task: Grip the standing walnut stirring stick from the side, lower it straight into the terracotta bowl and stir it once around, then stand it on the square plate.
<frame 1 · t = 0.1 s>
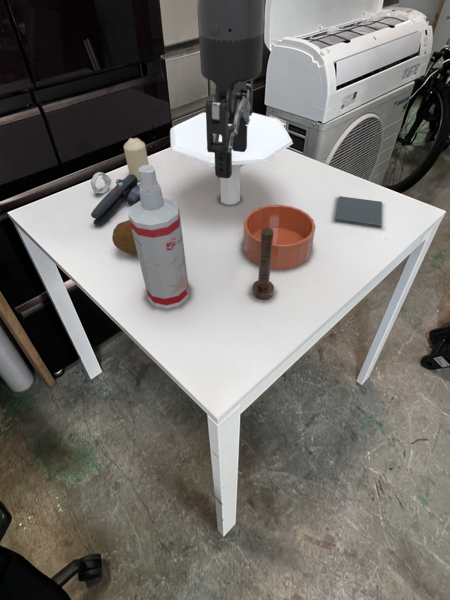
hand: (231, 162, 55), 24 cm above the table, tool pointing down, fingers open, 8 cm apart
wristwatch: (102, 192, 97), on the table
candle: (140, 177, 102), on the table
table 2: (230, 200, 93), on the table
stirrer: (262, 292, 70), on the table
square plate: (358, 212, 88), on the table
spray bottle: (169, 294, 70), on the table
bowl: (277, 247, 79), on the table
can opener: (119, 209, 91), on the table
potato: (145, 250, 80), on the table
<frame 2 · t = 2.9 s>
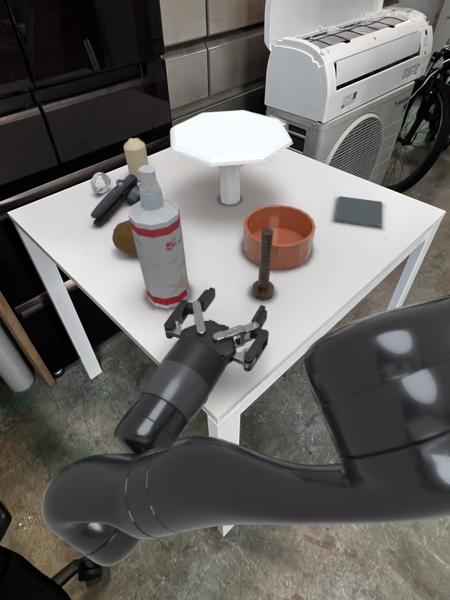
hand: (237, 300, 57), 8 cm above the table, tool horizontal, fingers open, 8 cm apart
nothing on the table moved.
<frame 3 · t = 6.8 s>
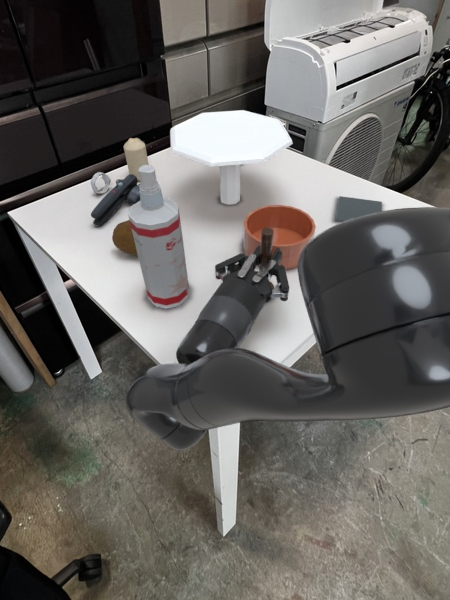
hand: (271, 250, 66), 8 cm above the table, tool horizontal, fingers closed on stirrer, 2 cm apart
stirrer: (262, 292, 70), on the table, touching gripper
everything else where it was.
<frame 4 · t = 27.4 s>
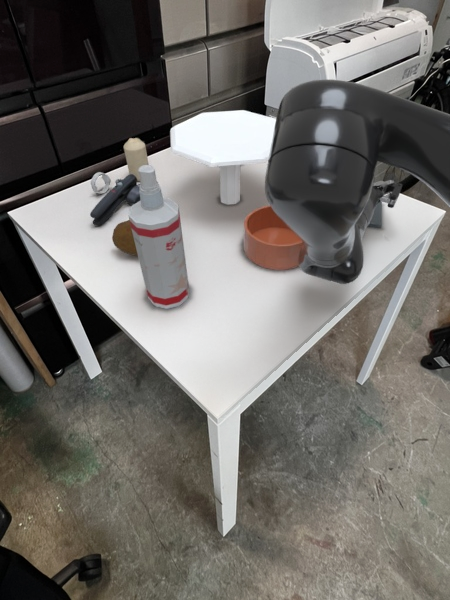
hand: (370, 172, 82), 9 cm above the table, tool horizontal, fingers open, 8 cm apart
stirrer: (358, 209, 87), point 1 cm above the table, touching square plate
everything else where it was.
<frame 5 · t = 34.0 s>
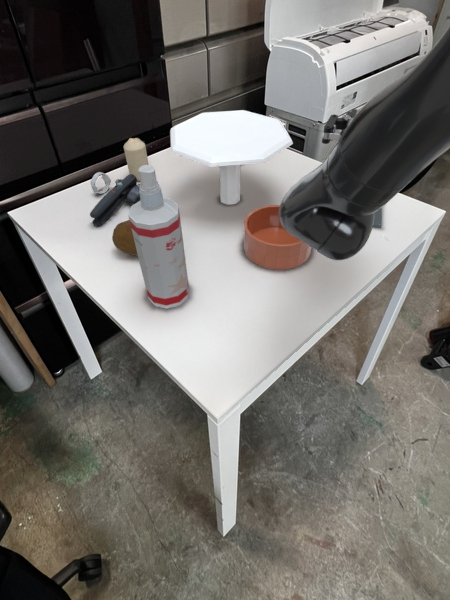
hand: (379, 118, 63), 25 cm above the table, tool horizontal, fingers open, 8 cm apart
nothing on the table moved.
at the end: stirrer 0.1 cm off-centre on the square plate, point 0.8 cm above the square plate's base; stirrer tilted 0°; the gripper is holding nothing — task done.
